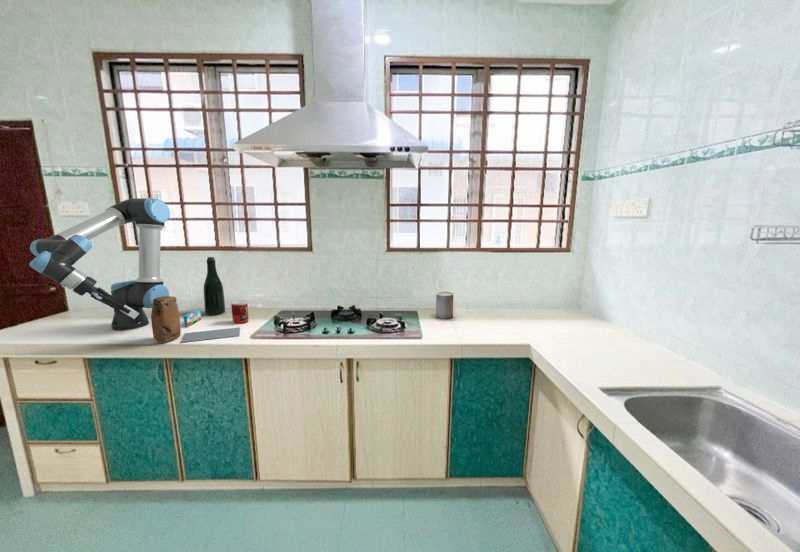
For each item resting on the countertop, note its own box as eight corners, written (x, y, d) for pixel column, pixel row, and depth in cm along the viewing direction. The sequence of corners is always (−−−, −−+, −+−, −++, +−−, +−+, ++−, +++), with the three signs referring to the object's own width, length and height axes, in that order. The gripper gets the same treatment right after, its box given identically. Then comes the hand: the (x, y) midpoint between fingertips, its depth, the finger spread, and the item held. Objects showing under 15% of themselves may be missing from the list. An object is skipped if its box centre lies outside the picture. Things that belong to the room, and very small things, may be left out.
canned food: (242, 324, 181) (241, 304, 179) (229, 323, 182) (227, 303, 180) (251, 320, 188) (250, 300, 186) (238, 319, 190) (237, 300, 188)
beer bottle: (229, 312, 202) (224, 256, 197) (211, 317, 194) (206, 258, 188) (219, 310, 208) (214, 255, 202) (201, 314, 199) (196, 257, 193)
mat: (185, 333, 166) (185, 333, 166) (240, 328, 176) (240, 327, 176) (180, 343, 155) (180, 342, 155) (239, 336, 164) (239, 335, 164)
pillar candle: (452, 314, 202) (453, 289, 200) (453, 319, 193) (453, 293, 190) (435, 314, 203) (436, 289, 201) (435, 319, 194) (436, 292, 191)
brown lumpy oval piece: (168, 335, 164) (163, 294, 160) (183, 336, 163) (179, 295, 160) (151, 344, 153) (145, 300, 150) (167, 344, 153) (162, 300, 149)
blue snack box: (187, 327, 176) (186, 315, 175) (184, 327, 176) (183, 315, 175) (201, 320, 188) (200, 309, 187) (198, 320, 188) (197, 309, 187)
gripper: (73, 287, 142) (130, 319, 155) (69, 293, 132) (129, 326, 145) (88, 273, 144) (143, 306, 157) (85, 278, 134) (144, 312, 147)
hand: (136, 316), depth 151 cm, fingers closed
